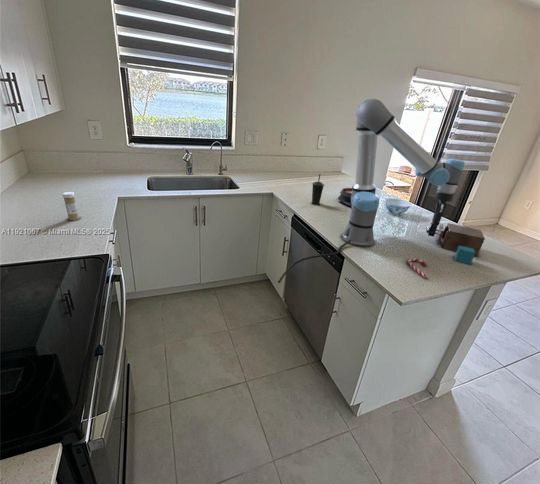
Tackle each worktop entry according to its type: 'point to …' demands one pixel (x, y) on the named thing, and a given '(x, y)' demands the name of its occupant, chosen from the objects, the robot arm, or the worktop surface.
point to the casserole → (346, 196)
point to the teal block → (464, 254)
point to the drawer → (440, 234)
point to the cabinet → (463, 238)
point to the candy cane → (415, 267)
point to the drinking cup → (317, 192)
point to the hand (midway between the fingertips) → (430, 235)
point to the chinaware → (396, 206)
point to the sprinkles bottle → (70, 205)
